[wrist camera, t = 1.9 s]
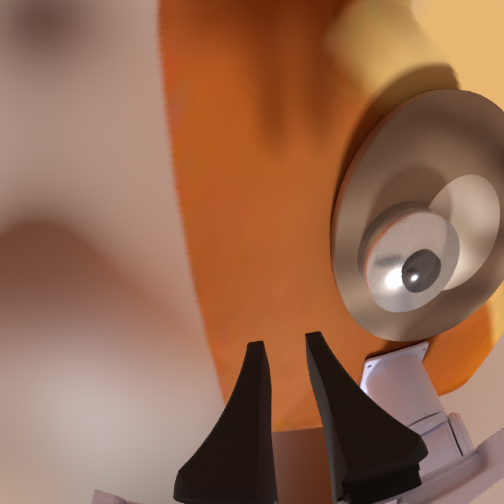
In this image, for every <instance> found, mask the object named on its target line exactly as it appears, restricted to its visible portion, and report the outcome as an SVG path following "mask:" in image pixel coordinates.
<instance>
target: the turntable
mask: <svg viewBox="0 0 504 504" xmlns="http://www.w3.org/2000/svg"><path fill="white" fill-rule="evenodd" d="M411 201H412V202H419V203H422V204H424V205H426V206H428V207H429V208H431V209H432V210H433V211H435V212H436V213H438V214H439V215H440V216H442V217H443V218H444V219H446V220H447V221H448V222H449V223H451V224H452V226H453V227H454V228H455V230H456V232H457V234H458V237H459V242H460V254H459V260H458V263H457V266H456V269H455V271H454V273H453V275H452V277H451V279H450V280H449V282H448V283H447V285H446V286H445V287H444V289H443V290H442V291H441V292H440V293H439V294H438V295H437V296H436V297H435V298H433V299H432V300H431V301H429V302H428V303H426V304H425V305H423V306H421V307H419V308H417V309H414V310H411V311H407V312H391V311H388V310H385V309H383V308H381V307H380V306H379V305H378V304H377V303H376V302H375V300H374V298H373V297H372V295H371V293H370V291H369V289H368V287H367V286H366V284H365V282H364V280H363V279H362V277H361V275H360V272H359V270H358V265H357V255H358V249H359V245H360V242H361V239H362V237H363V235H364V233H365V231H366V230H367V228H368V227H369V225H370V224H371V223H372V221H373V220H374V219H375V218H376V217H377V216H378V215H380V214H381V213H382V212H383V211H385V210H386V209H388V208H389V207H391V206H393V205H396V204H399V203H402V202H411ZM330 256H331V265H332V271H333V275H334V279H335V283H336V286H337V288H338V290H339V292H340V295H341V297H342V299H343V302H344V304H345V306H346V308H347V310H348V311H349V313H350V314H351V316H352V318H353V319H354V320H355V321H356V322H357V323H358V324H359V325H360V326H361V327H362V328H363V329H365V330H366V331H368V332H369V333H371V334H373V335H375V336H377V337H380V338H383V339H387V340H391V341H402V342H403V341H415V340H421V339H426V338H429V337H432V336H435V335H438V334H440V333H442V332H445V331H447V330H449V329H451V328H452V327H454V326H456V325H458V324H459V323H461V322H462V321H464V320H465V319H467V318H468V317H469V316H470V315H472V314H473V313H474V312H475V311H477V310H478V309H479V308H480V307H481V306H482V305H483V304H484V303H485V302H486V301H487V300H488V299H489V298H490V297H491V295H492V294H493V293H494V292H495V291H496V289H497V288H498V287H499V285H500V284H501V283H502V281H503V280H504V112H503V111H502V109H500V108H499V107H498V106H497V105H496V104H494V103H493V102H492V101H490V100H489V99H487V98H485V97H483V96H481V95H479V94H476V93H473V92H470V91H463V90H451V89H439V90H432V91H427V92H424V93H421V94H418V95H415V96H413V97H411V98H409V99H407V100H406V101H404V102H402V103H400V104H399V105H397V106H396V107H395V108H394V109H392V110H391V111H390V112H389V113H388V114H386V115H385V116H384V117H383V118H382V119H381V120H380V121H379V123H378V124H377V125H376V126H375V127H374V128H373V129H372V130H371V131H370V133H369V134H368V136H367V137H366V139H365V140H364V141H363V143H362V144H361V146H360V147H359V149H358V150H357V152H356V154H355V156H354V158H353V160H352V162H351V164H350V166H349V168H348V169H347V172H346V174H345V177H344V180H343V182H342V185H341V187H340V190H339V193H338V197H337V201H336V205H335V208H334V212H333V219H332V226H331V233H330Z"/></svg>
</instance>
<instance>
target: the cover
mask: <svg viewBox="0 0 504 504" xmlns="http://www.w3.org/2000/svg"><path fill="white" fill-rule="evenodd" d="M459 254H460V242H459V237H458V234H457V232H456V230H455V228H454V227H453V226H452V224H451V223H449V222H448V221H447V220H446V219H444V218H443V217H442V216H440V215H439V214H438V213H436V212H435V211H433V210H432V209H431V208H429V207H428V206H426V205H424V204H422V203H419V202H412V201H411V202H402V203H399V204H396V205H393V206H391V207H389V208H388V209H386V210H385V211H383V212H382V213H381V214H380V215H378V216H377V217H376V218H375V219H374V220H373V221H372V223H371V224H370V225H369V227H368V228H367V230H366V231H365V233H364V235H363V237H362V239H361V242H360V245H359V249H358V255H357V265H358V270H359V272H360V275H361V277H362V279H363V280H364V282H365V284H366V286H367V287H368V289H369V291H370V293H371V295H372V297H373V298H374V300H375V302H376V303H377V304H378V305H379V306H380V307H381V308H383V309H385V310H388V311H391V312H407V311H411V310H414V309H417V308H419V307H421V306H423V305H425V304H426V303H428V302H429V301H431V300H432V299H433V298H435V297H436V296H437V295H438V294H439V293H440V292H441V291H442V290H443V289H444V287H445V286H446V285H447V283H448V282H449V280H450V279H451V277H452V275H453V273H454V271H455V269H456V266H457V263H458V260H459Z"/></svg>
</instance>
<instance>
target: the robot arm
mask: <svg viewBox="0 0 504 504" xmlns="http://www.w3.org/2000/svg"><path fill="white" fill-rule="evenodd" d="M305 339H306V354H307V364H308V370H309V376H310V381H311V385H312V388H313V392H314V395H315V399H316V402H317V406H318V409H319V413H320V416H321V420H322V424H323V429H324V435H325V441H326V448H327V455H328V462H329V470H330V478H331V488H332V498H333V504H385V503H386V504H469V503H470V502H471V501H473V500H474V499H476V498H477V497H479V496H480V495H481V494H482V493H484V492H485V491H487V490H488V489H489V488H491V487H492V486H493V485H494V484H496V483H497V482H498V481H500V480H501V479H502V478H503V477H504V428H502V429H501V430H499V431H498V432H497V433H495V434H494V435H492V436H491V437H489V438H488V439H486V440H485V441H484V442H482V443H481V444H480V445H478V447H476V448H475V449H474V448H473V445H472V442H471V439H470V437H469V434H468V432H467V430H466V427H465V425H464V423H463V420H462V418H461V416H460V414H458V413H454V412H452V413H451V414H449V415H447V413H446V412H445V411H444V408H443V406H442V404H441V402H440V399H439V397H438V395H437V393H436V391H435V388H434V386H433V384H432V382H431V380H430V378H429V376H428V374H427V372H426V370H425V368H424V366H423V364H422V360H423V357H424V355H425V353H426V350H427V348H428V345H429V344H428V342H427V341H425V342H422V343H419V344H416V345H413V346H410V347H407V348H404V349H401V350H397V351H394V352H391V353H387V354H384V355H380V356H377V357H373V358H369V359H367V360H366V361H365V364H364V369H363V374H362V378H361V382H360V387H359V386H358V385H357V384H356V382H355V381H354V380H353V379H352V378H351V377H350V375H349V374H348V373H347V372H346V370H345V369H344V368H343V366H342V365H341V364H340V362H339V361H338V360H337V358H336V357H335V355H334V354H333V352H332V351H331V349H330V348H329V346H328V345H327V343H326V341H325V339H324V337H323V335H322V333H321V332H319V331H317V332H312V333H307V334H305ZM271 394H272V387H271V377H270V368H269V363H268V359H267V355H266V351H265V347H264V342H263V341H256V342H249V343H248V344H247V350H246V354H245V358H244V362H243V365H242V369H241V372H240V374H239V377H238V380H237V383H236V385H235V388H234V390H233V392H232V395H231V397H230V399H229V401H228V403H227V405H226V407H225V409H224V411H223V413H222V415H221V417H220V418H219V420H218V422H217V423H216V425H215V426H214V428H213V430H212V431H211V433H210V434H209V436H208V437H207V438H206V440H205V441H204V442H203V444H202V445H201V446H200V448H199V449H198V450H197V451H196V452H195V454H194V455H193V456H192V457H191V458H190V459H189V460H188V462H186V463H185V465H184V466H183V467H182V468H181V469H180V470H179V471H178V474H177V477H176V481H175V485H174V496H173V498H174V499H175V500H176V501H178V502H181V503H184V504H278V496H277V488H276V478H275V468H274V458H273V449H272V437H271ZM92 504H142V503H137V502H133V501H129V500H125V499H123V498H121V497H118V496H116V495H112V494H109V493H106V492H103V491H100V490H97V489H95V490H94V494H93V500H92Z"/></svg>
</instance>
